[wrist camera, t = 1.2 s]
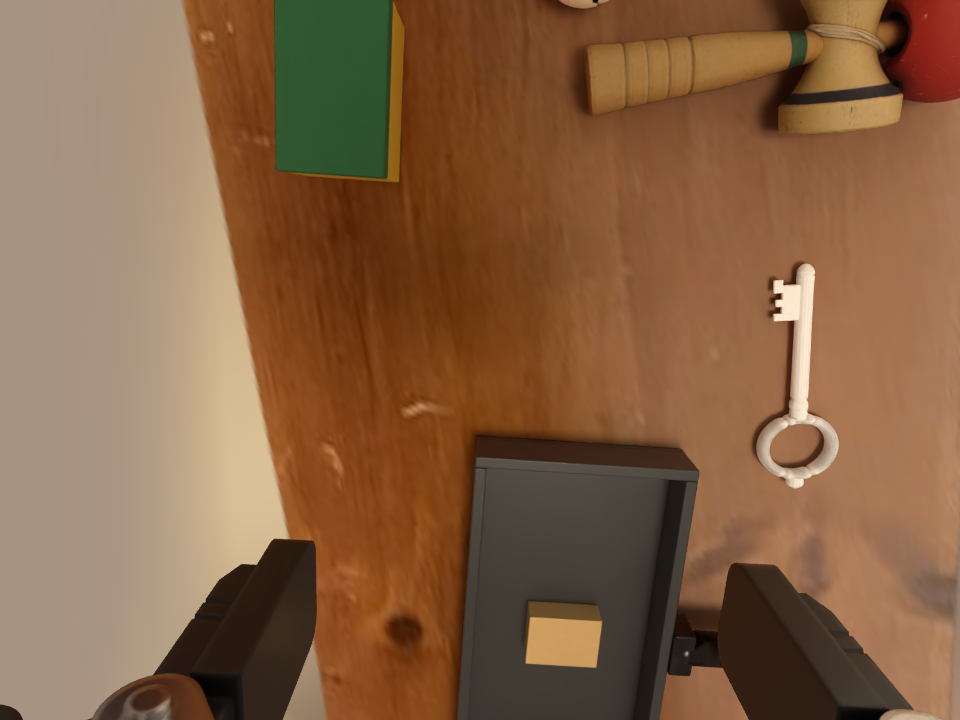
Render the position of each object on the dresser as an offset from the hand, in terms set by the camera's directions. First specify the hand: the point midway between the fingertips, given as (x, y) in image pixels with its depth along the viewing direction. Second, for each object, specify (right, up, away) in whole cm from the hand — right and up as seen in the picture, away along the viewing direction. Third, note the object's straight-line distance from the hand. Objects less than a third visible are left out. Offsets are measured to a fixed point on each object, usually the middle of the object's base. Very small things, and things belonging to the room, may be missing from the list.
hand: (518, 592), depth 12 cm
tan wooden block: (+4, -11, +24) cm, 27 cm away
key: (+16, +4, +21) cm, 27 cm away
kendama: (+13, +18, +18) cm, 29 cm away
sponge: (-7, +17, +18) cm, 25 cm away
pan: (+4, -10, +24) cm, 27 cm away
